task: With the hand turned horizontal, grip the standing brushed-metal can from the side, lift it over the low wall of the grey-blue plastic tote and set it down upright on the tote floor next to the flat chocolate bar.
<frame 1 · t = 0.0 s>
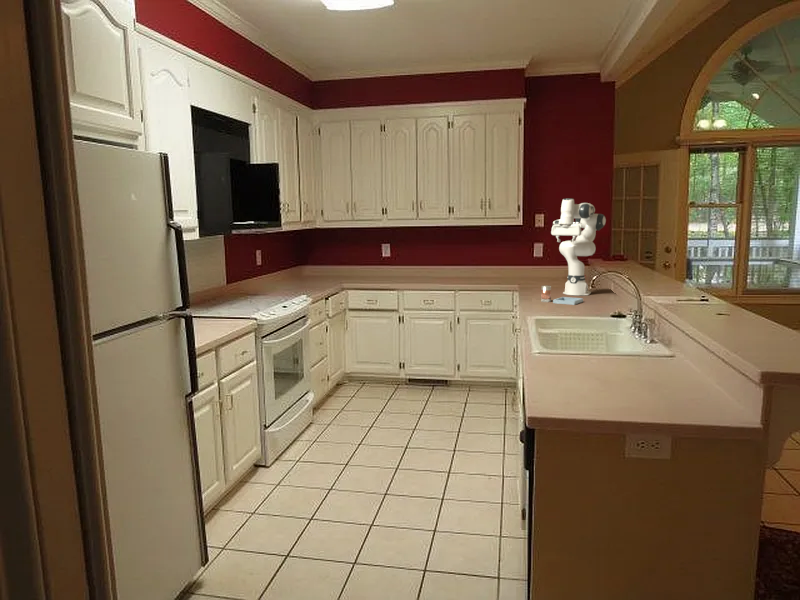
hand: (565, 242, 396), 39 cm above the worktop, tool pointing down, fingers open, 8 cm apart
chocolate bar: (565, 303, 372), point 1 cm above the worktop, touching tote
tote: (568, 303, 376), on the worktop
can: (545, 302, 381), on the worktop
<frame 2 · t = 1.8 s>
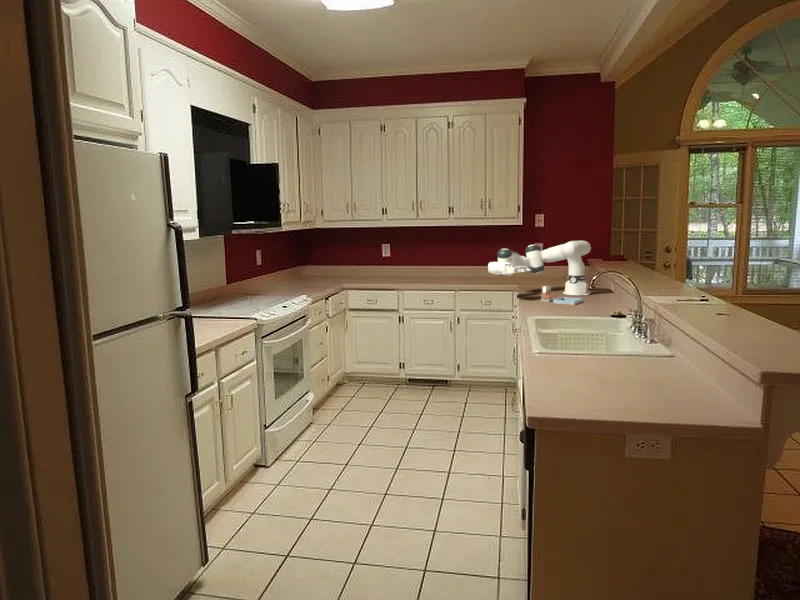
hand: (527, 270, 387), 21 cm above the worktop, tool horizontal, fingers open, 8 cm apart
nothing on the worktop moved.
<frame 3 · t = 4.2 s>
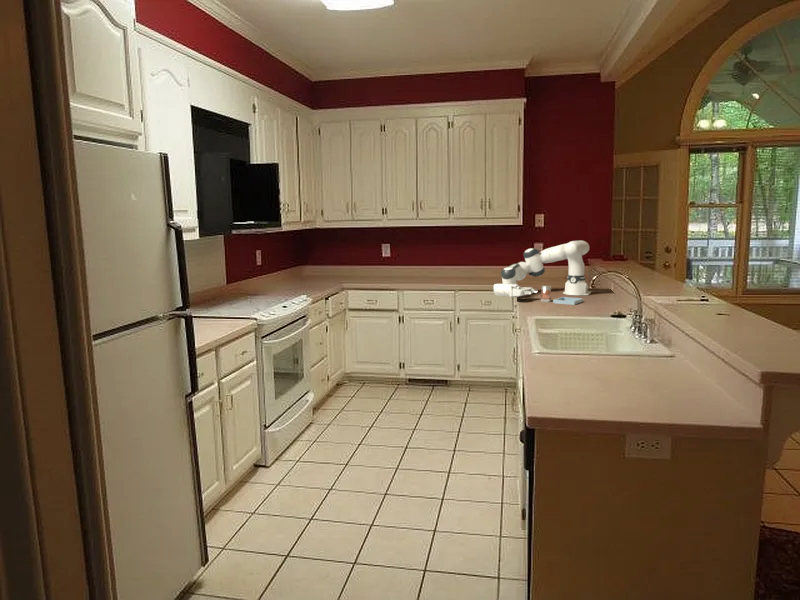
hand: (534, 292, 385), 6 cm above the worktop, tool horizontal, fingers open, 8 cm apart
nothing on the worktop moved.
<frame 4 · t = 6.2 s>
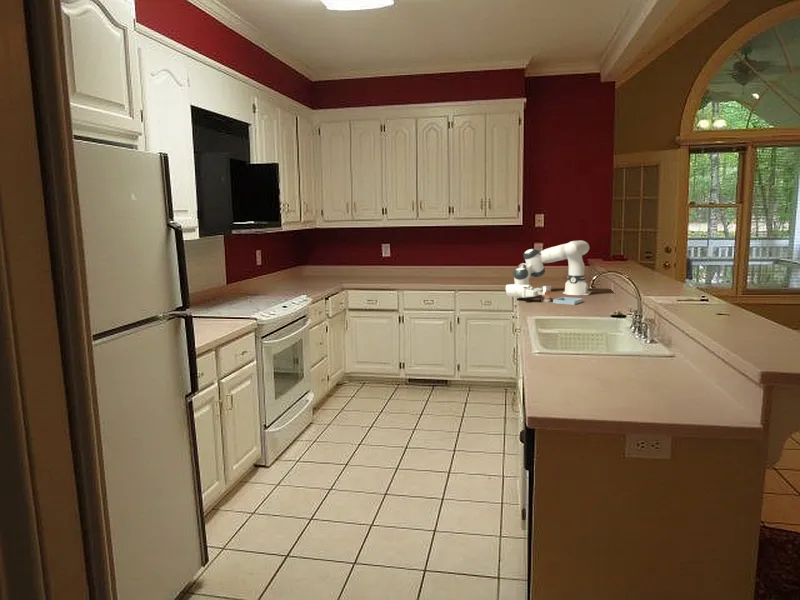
hand: (547, 292, 380), 7 cm above the worktop, tool horizontal, fingers closed on can, 6 cm apart
can: (545, 302, 381), on the worktop, touching gripper
everything else where it was.
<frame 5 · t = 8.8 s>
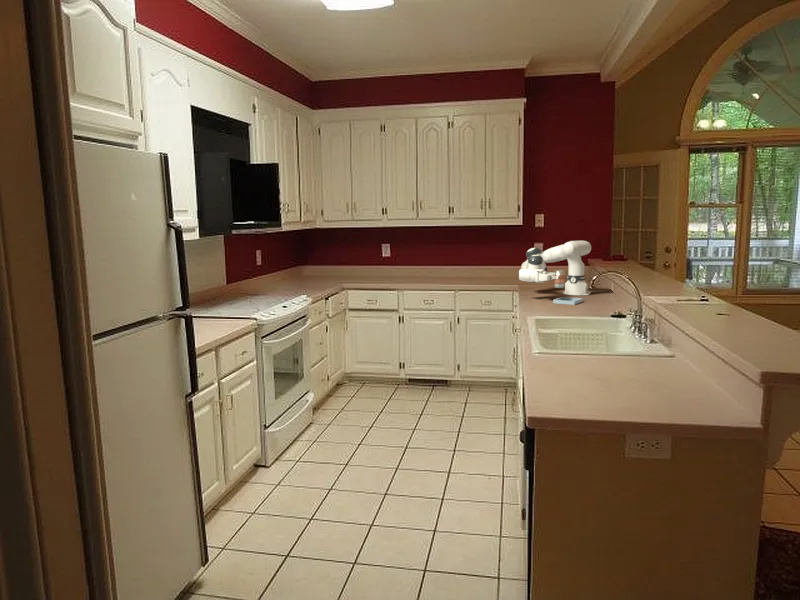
hand: (560, 277, 379), 17 cm above the worktop, tool horizontal, fingers closed on can, 6 cm apart
can: (559, 287, 380), point 10 cm above the worktop, touching gripper
everything else where it was.
when the fingers open (9 cm above the worktop, at t = 11.4 s): can drops 1 cm, resting on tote.
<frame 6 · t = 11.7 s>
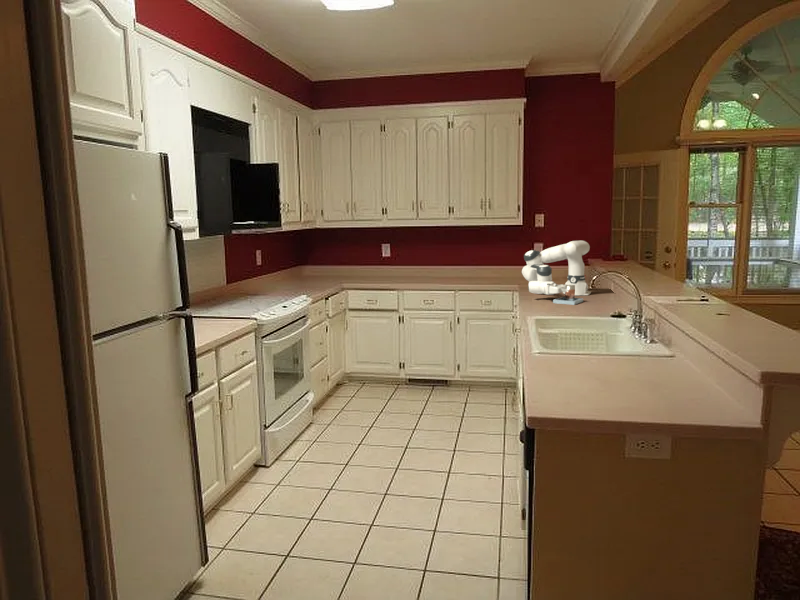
hand: (571, 289, 376), 9 cm above the worktop, tool horizontal, fingers open, 8 cm apart
can: (569, 301, 378), point 1 cm above the worktop, touching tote
everything else where it was.
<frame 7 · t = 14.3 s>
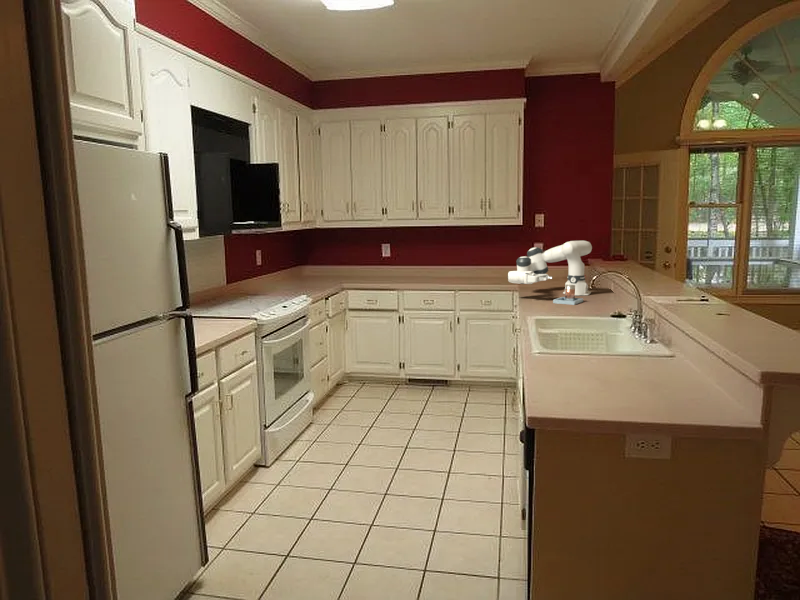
hand: (549, 278, 384), 16 cm above the worktop, tool horizontal, fingers open, 8 cm apart
nothing on the worktop moved.
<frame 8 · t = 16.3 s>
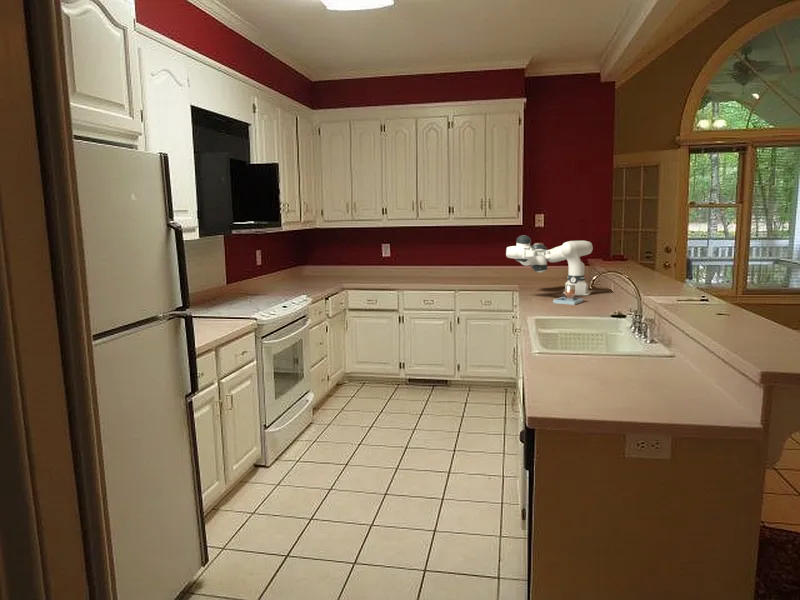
hand: (547, 253, 385), 32 cm above the worktop, tool horizontal, fingers open, 8 cm apart
nothing on the worktop moved.
at the end: can inside the target area on the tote (3.0 cm from its centre), point 0.9 cm above the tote's base; can tilted 1°; the gripper is holding nothing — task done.
